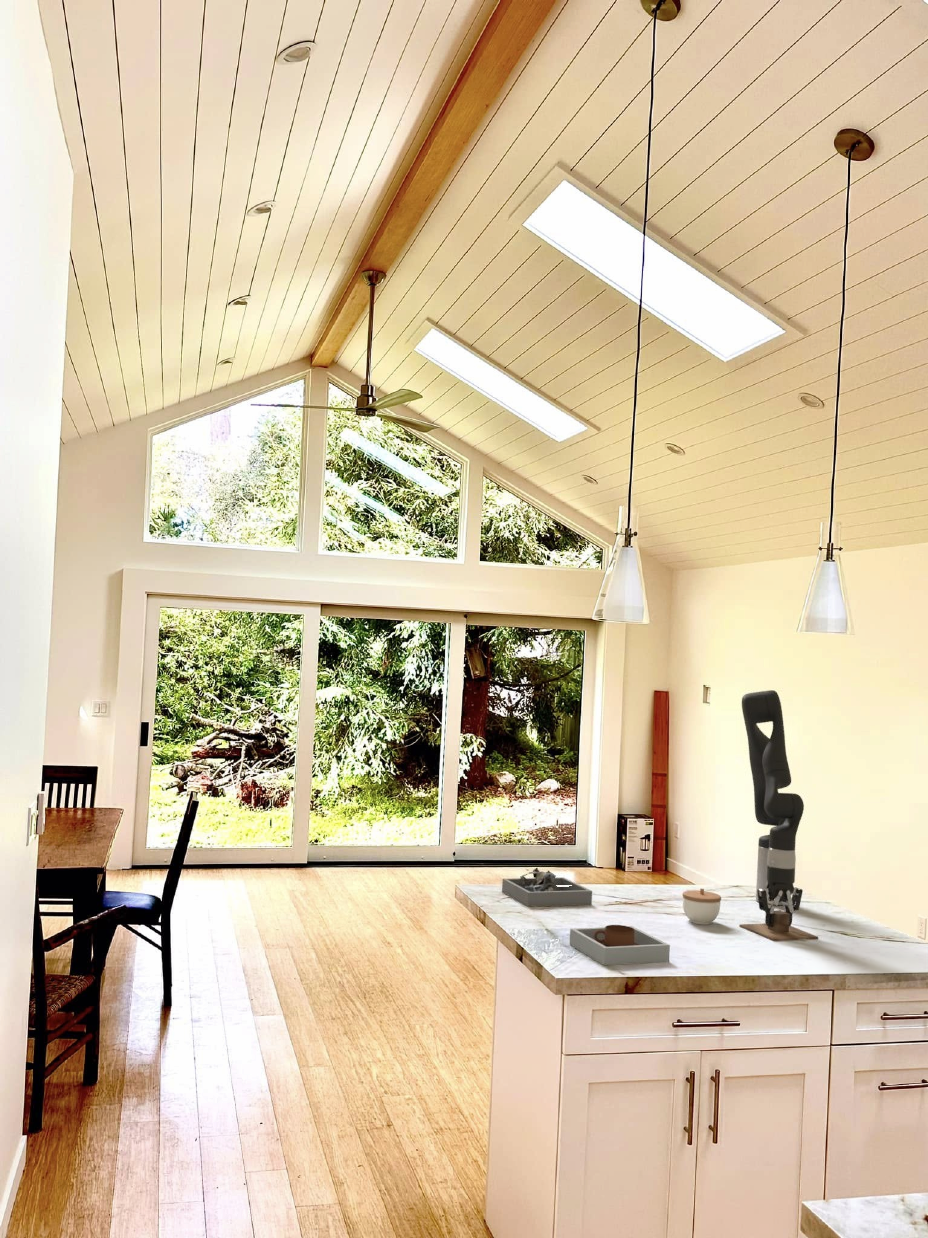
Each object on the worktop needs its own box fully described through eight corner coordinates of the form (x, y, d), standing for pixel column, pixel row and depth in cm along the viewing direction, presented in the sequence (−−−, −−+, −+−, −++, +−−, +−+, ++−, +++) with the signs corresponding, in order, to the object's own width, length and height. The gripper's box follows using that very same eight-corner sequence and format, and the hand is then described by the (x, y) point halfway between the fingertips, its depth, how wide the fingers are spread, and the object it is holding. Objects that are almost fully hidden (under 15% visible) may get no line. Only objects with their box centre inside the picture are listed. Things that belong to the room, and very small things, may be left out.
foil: (503, 884, 317) (538, 855, 324) (518, 913, 319) (552, 883, 327) (525, 891, 307) (560, 860, 314) (541, 921, 309) (575, 890, 317)
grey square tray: (631, 941, 271) (632, 926, 271) (669, 961, 254) (669, 945, 254) (569, 944, 264) (570, 928, 264) (603, 965, 248) (604, 948, 248)
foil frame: (562, 890, 329) (563, 877, 329) (591, 904, 311) (592, 891, 311) (501, 891, 321) (502, 878, 321) (527, 906, 303) (528, 892, 304)
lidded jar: (673, 920, 298) (675, 887, 298) (696, 915, 305) (698, 883, 305) (704, 928, 290) (706, 894, 290) (727, 924, 297) (729, 890, 297)
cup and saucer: (603, 960, 252) (604, 935, 253) (588, 947, 264) (589, 922, 264) (650, 960, 255) (651, 935, 255) (632, 947, 266) (634, 922, 267)
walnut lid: (782, 927, 300) (783, 905, 300) (818, 941, 286) (819, 918, 286) (739, 928, 294) (740, 906, 294) (772, 943, 280) (773, 920, 280)
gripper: (793, 861, 297) (790, 922, 296) (751, 862, 292) (748, 923, 291) (811, 867, 290) (808, 928, 289) (768, 868, 285) (765, 930, 284)
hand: (778, 926), depth 290 cm, fingers open, 5 cm apart
